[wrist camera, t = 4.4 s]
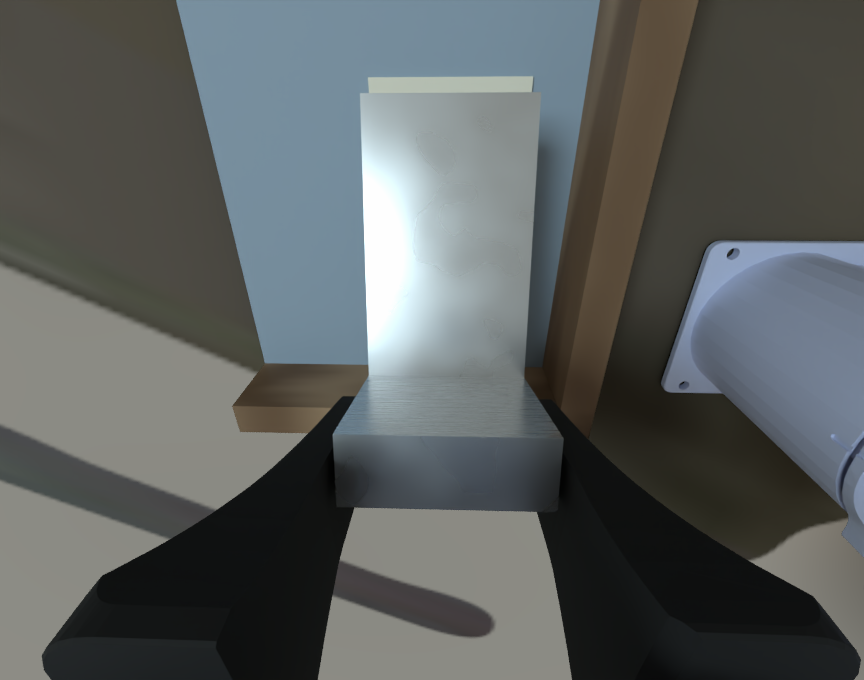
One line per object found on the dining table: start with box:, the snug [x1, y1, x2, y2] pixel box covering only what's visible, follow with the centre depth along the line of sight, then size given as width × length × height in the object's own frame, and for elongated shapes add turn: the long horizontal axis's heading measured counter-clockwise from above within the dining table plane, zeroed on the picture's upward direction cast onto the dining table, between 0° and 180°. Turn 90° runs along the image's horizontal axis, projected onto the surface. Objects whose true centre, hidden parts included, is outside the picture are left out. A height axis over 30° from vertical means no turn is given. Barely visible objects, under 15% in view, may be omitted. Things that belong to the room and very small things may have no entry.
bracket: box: [333, 92, 564, 512], centre depth 11 cm, size 10×5×6 cm, turn 0°
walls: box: [232, 0, 698, 439], centre depth 13 cm, size 16×26×4 cm, turn 0°
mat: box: [176, 0, 600, 367], centre depth 15 cm, size 16×26×1 cm, turn 0°
